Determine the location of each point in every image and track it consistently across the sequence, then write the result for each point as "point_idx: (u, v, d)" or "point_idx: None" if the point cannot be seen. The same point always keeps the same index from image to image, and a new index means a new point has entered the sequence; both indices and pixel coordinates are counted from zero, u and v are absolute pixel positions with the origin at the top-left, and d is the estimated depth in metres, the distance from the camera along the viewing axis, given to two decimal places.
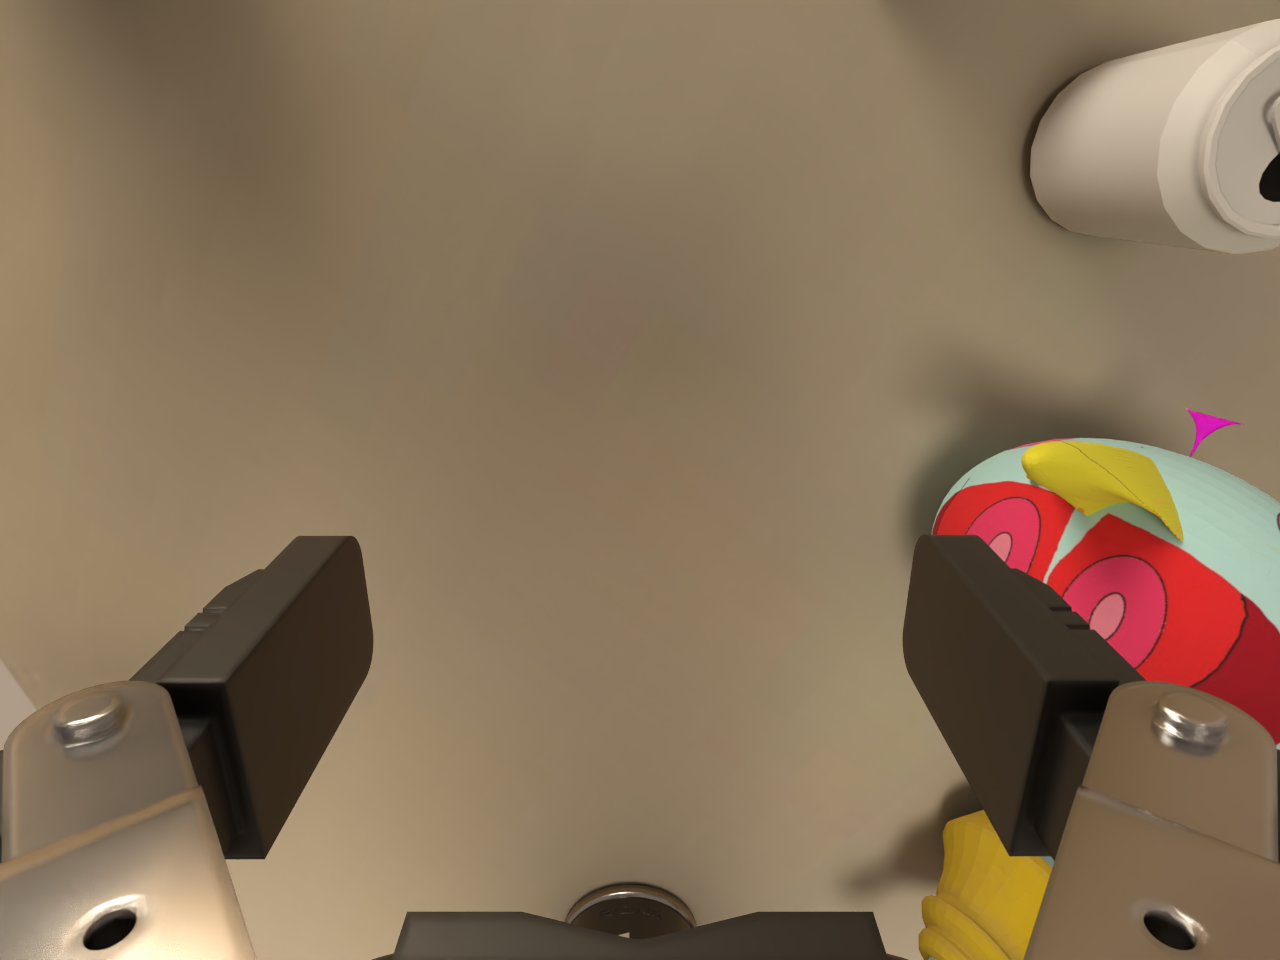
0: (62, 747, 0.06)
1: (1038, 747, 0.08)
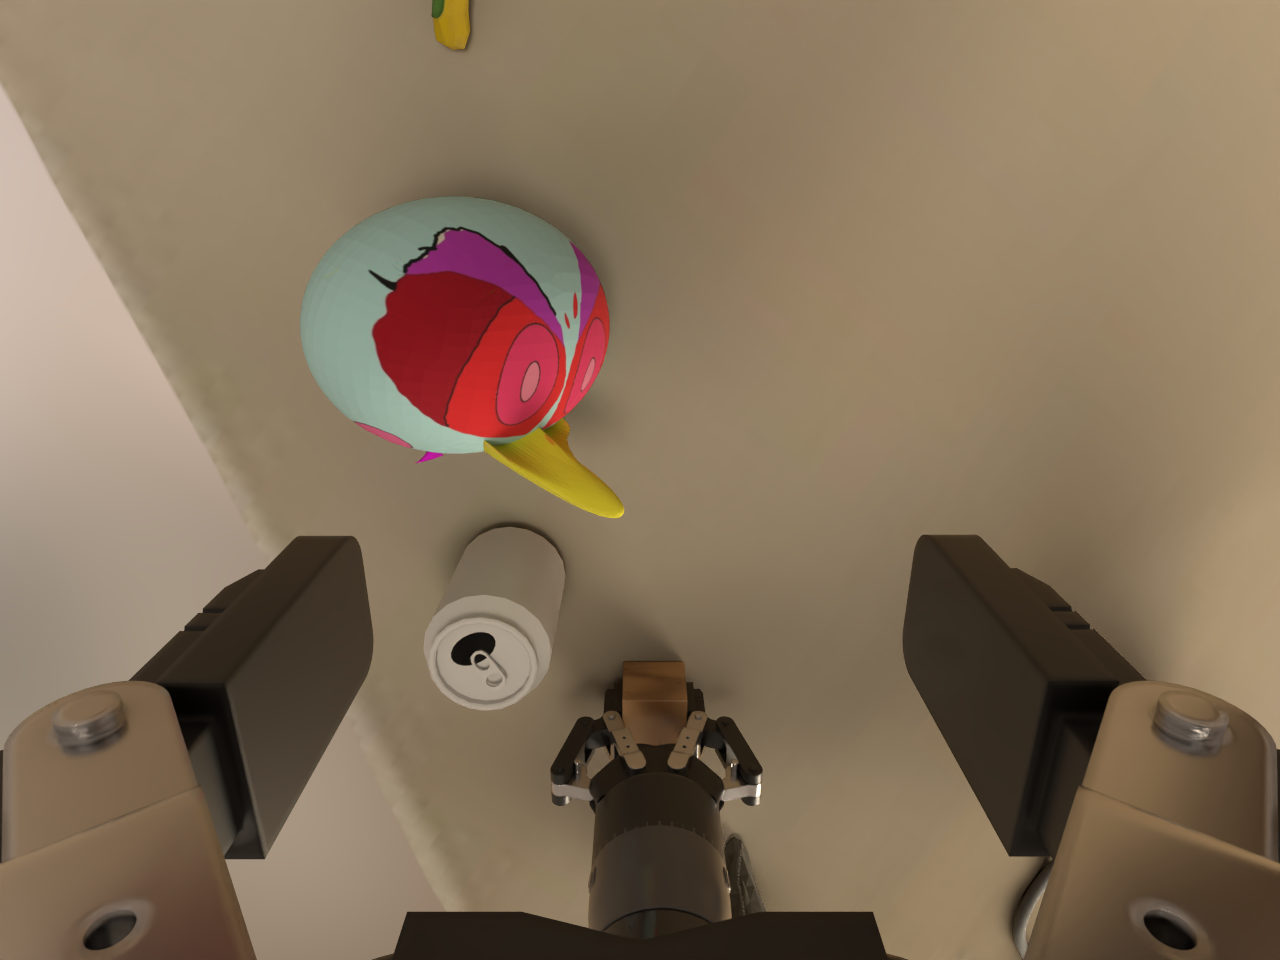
0: (62, 747, 0.06)
1: (1038, 747, 0.08)
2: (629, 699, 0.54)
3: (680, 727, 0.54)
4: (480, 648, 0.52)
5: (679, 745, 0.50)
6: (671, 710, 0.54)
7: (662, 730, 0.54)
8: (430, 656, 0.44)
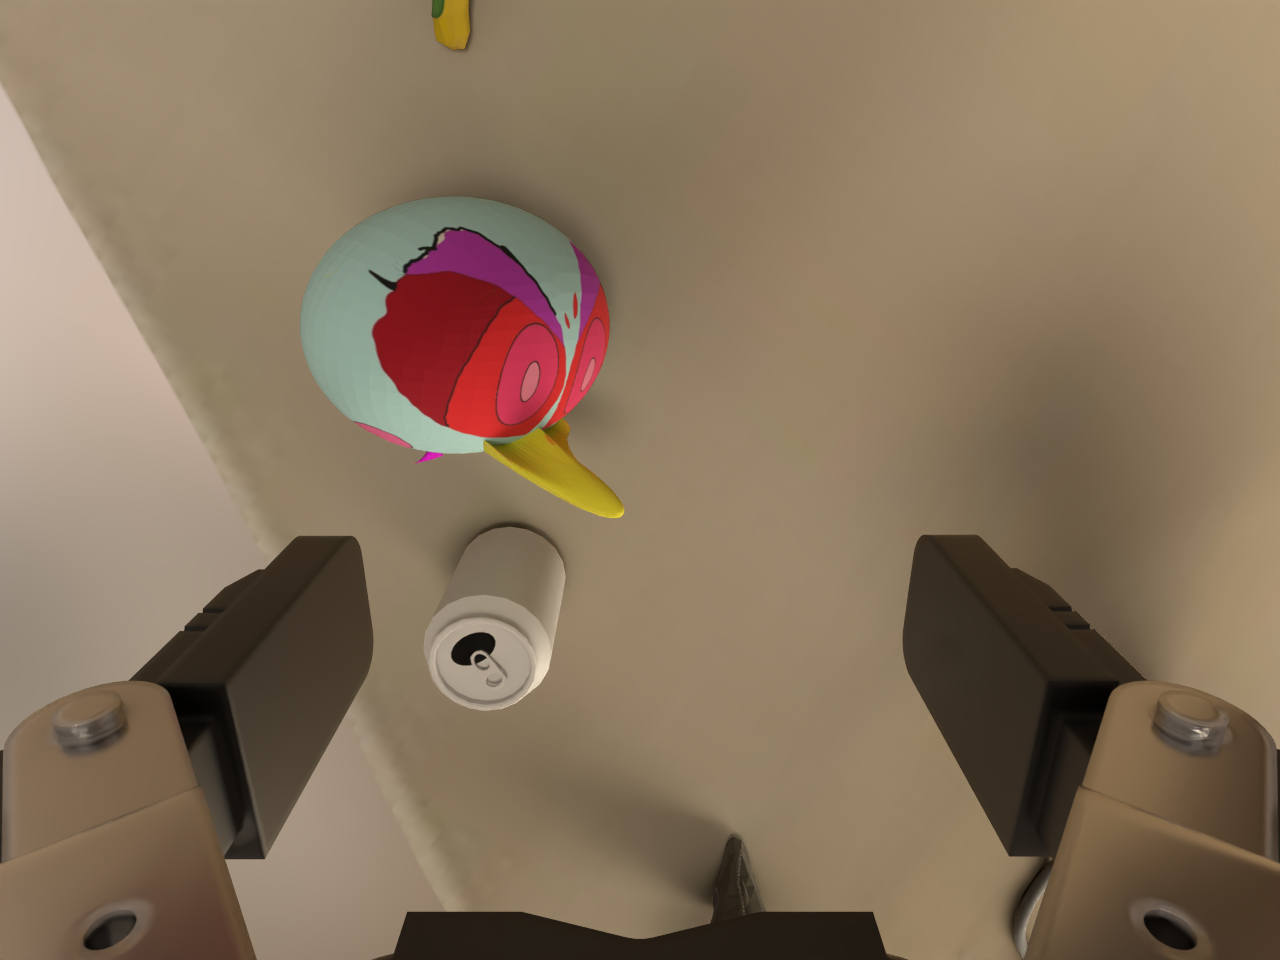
0: (62, 747, 0.06)
1: (1038, 747, 0.08)
2: None
3: None
4: (480, 648, 0.52)
5: None
6: None
7: None
8: (430, 656, 0.44)
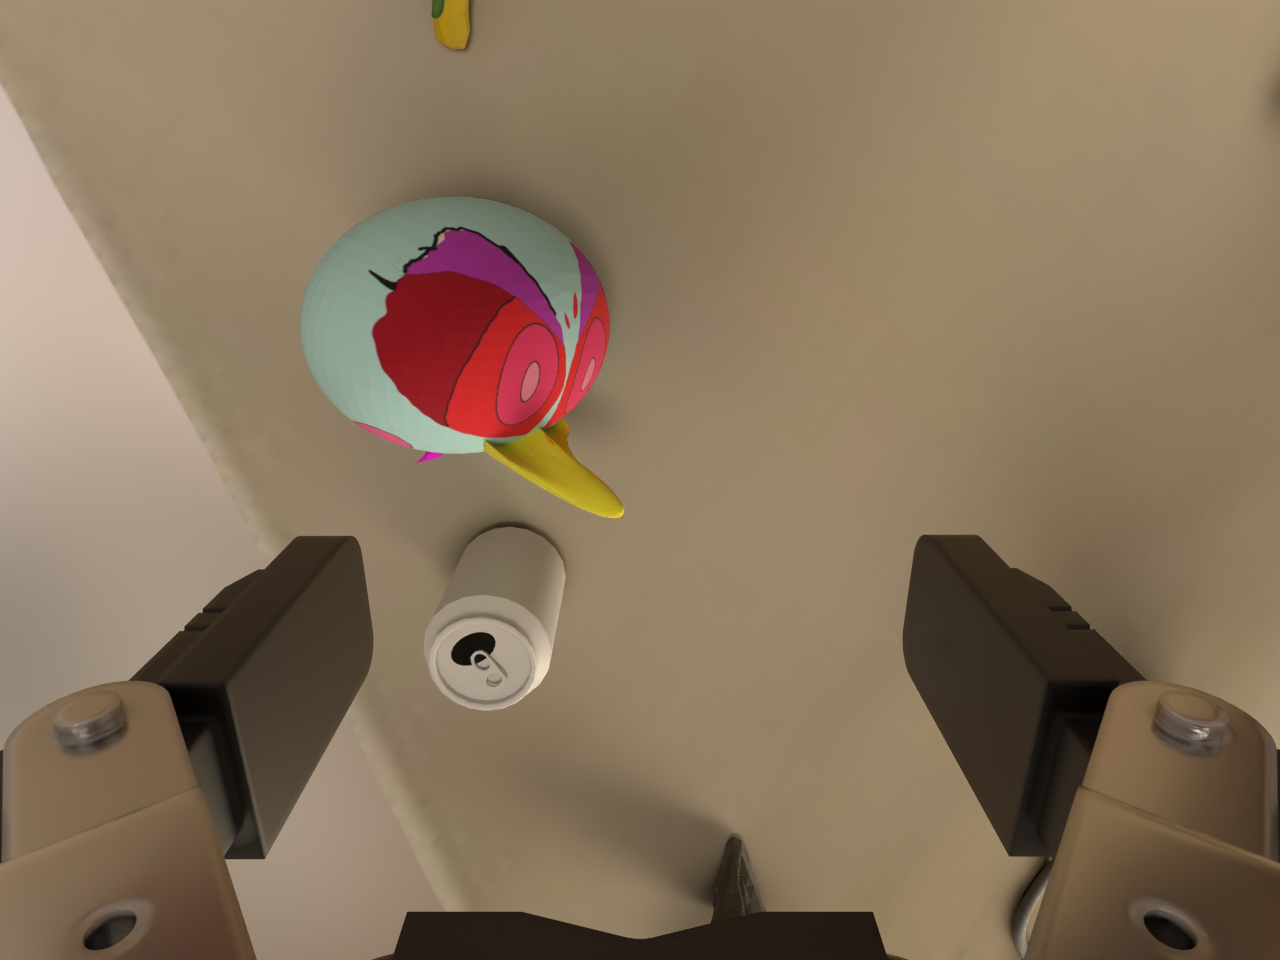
0: (62, 747, 0.06)
1: (1038, 747, 0.08)
2: None
3: None
4: (480, 648, 0.52)
5: None
6: None
7: None
8: (430, 656, 0.44)
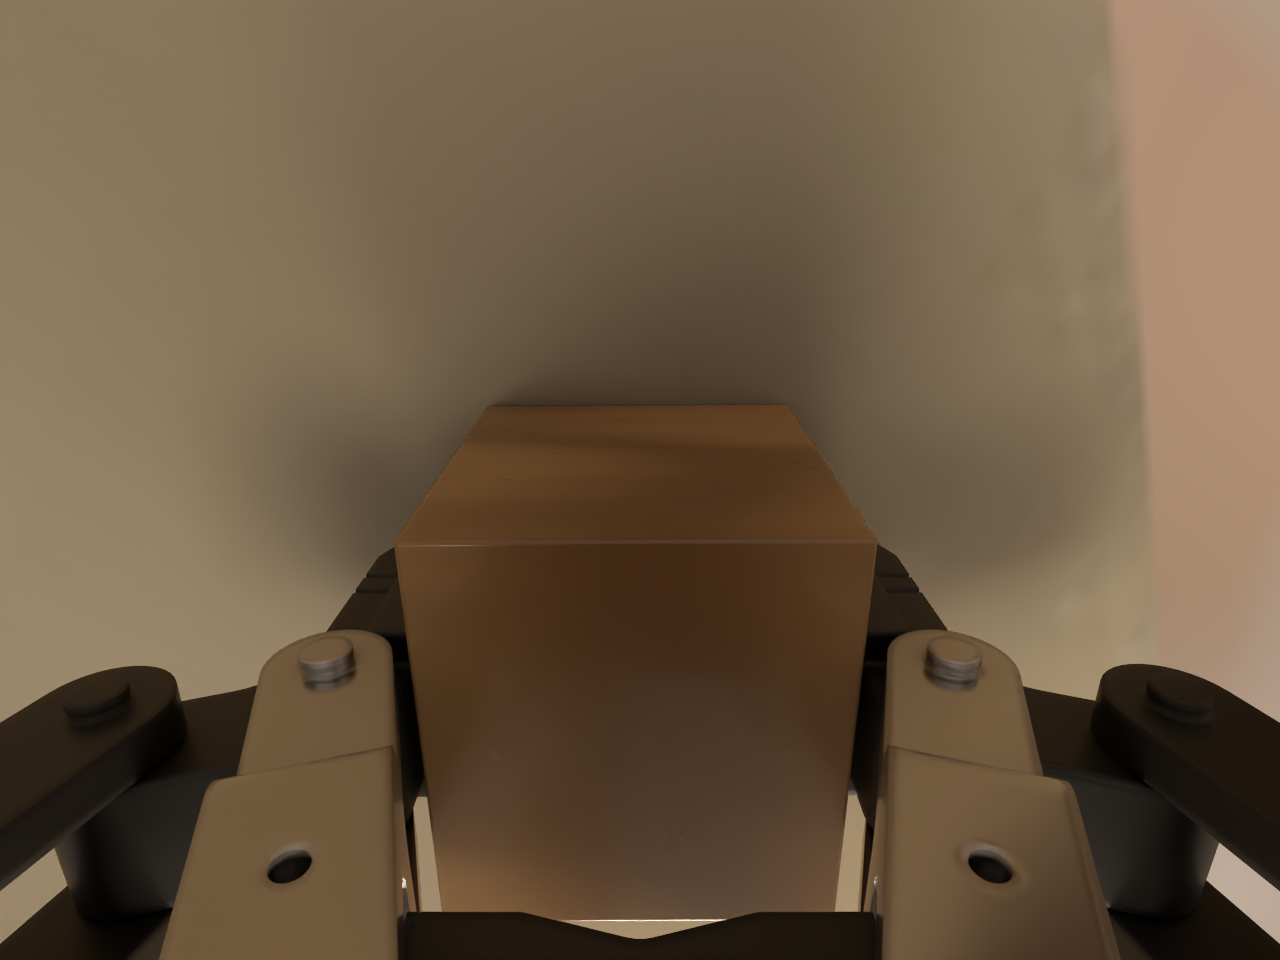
0: (312, 682, 0.07)
1: None
2: (446, 536, 0.07)
3: (811, 741, 0.08)
4: None
5: None
6: (757, 620, 0.07)
7: (693, 756, 0.08)
8: None
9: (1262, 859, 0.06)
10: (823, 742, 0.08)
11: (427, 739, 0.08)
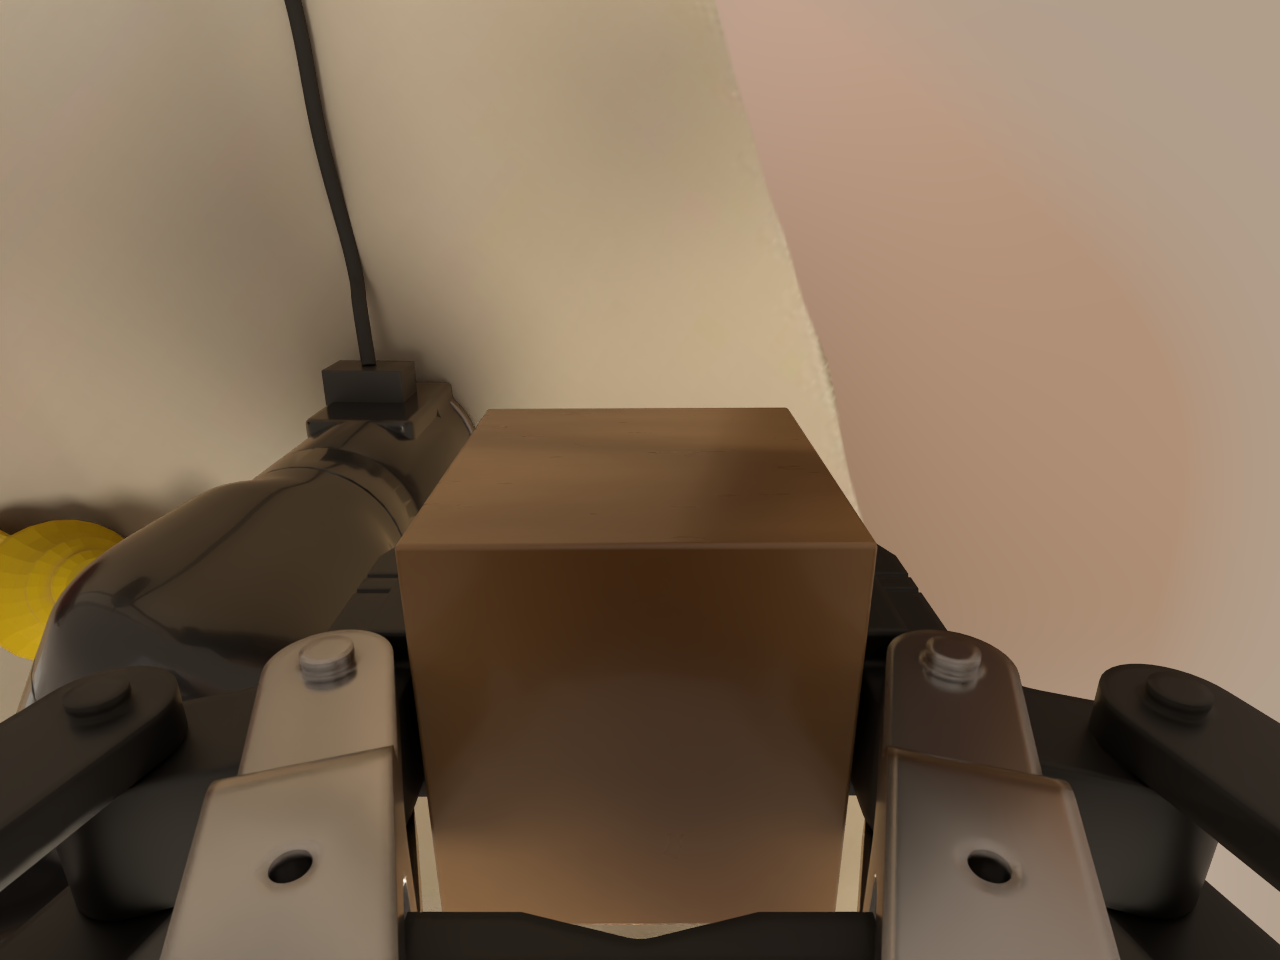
0: (313, 682, 0.07)
1: None
2: (446, 540, 0.07)
3: (811, 745, 0.08)
4: None
5: None
6: (758, 625, 0.07)
7: (692, 761, 0.08)
8: None
9: (1262, 859, 0.06)
10: (823, 746, 0.08)
11: (428, 743, 0.08)
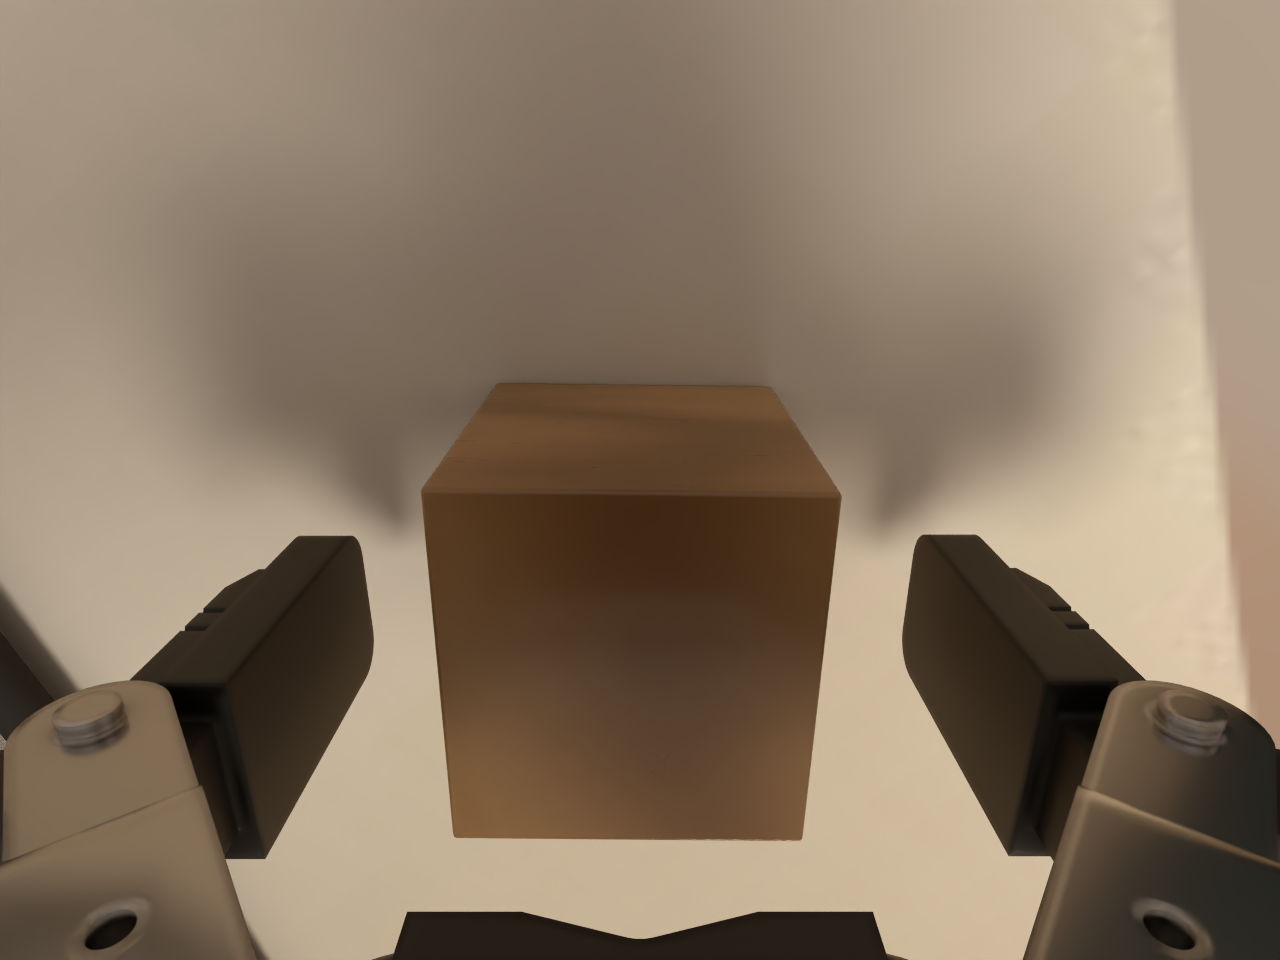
0: (63, 747, 0.06)
1: (1037, 747, 0.08)
2: (466, 485, 0.08)
3: (783, 675, 0.09)
4: None
5: None
6: (737, 565, 0.09)
7: (678, 687, 0.09)
8: None
9: None
10: (793, 676, 0.09)
11: (444, 668, 0.09)
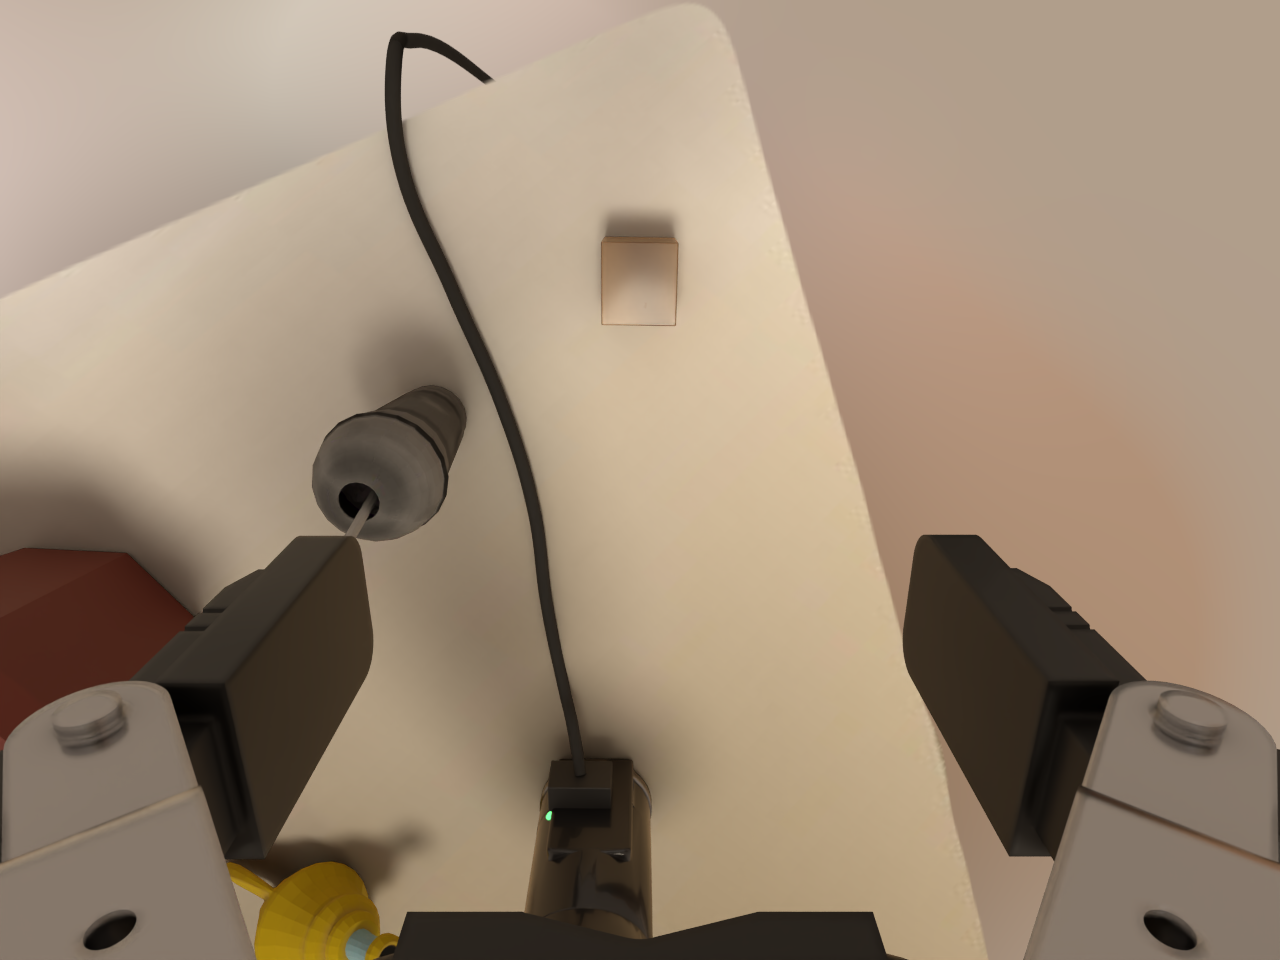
0: (62, 747, 0.06)
1: (1038, 747, 0.08)
2: (609, 241, 0.45)
3: (669, 282, 0.46)
4: None
5: None
6: (659, 257, 0.46)
7: (649, 285, 0.46)
8: None
9: None
10: (671, 282, 0.46)
11: (602, 281, 0.46)
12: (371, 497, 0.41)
